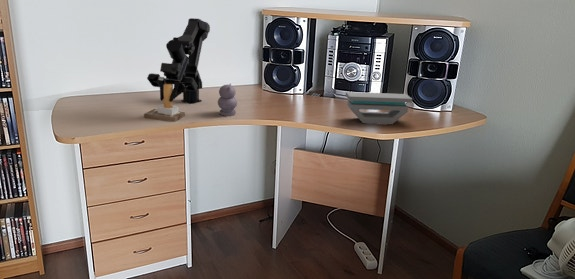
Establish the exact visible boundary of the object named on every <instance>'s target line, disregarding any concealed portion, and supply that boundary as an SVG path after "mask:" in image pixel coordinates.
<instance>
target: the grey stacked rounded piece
mask: <svg viewBox="0 0 575 279" xmlns="http://www.w3.org/2000/svg"><path fill="white" fill-rule="evenodd" d="M218 93H219V96H220V97H219V98H218V100H217V105H218V107H219V108H220V110H219V115H220V114H221V115H220V116H222V115H224V116H223V117H232V116H235V115H236V114H237V113H236V112H237V110H236V107H237V105H238V100H237V98H236V97H235V96H236V88H235V87H234V86H233V85H232V83H230V84H224V85H222V86H221V87H220V88H219V90H218Z"/></svg>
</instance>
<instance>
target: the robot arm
mask: <svg viewBox="0 0 575 279" xmlns="http://www.w3.org/2000/svg"><path fill="white" fill-rule="evenodd" d="M210 31H211V27H210V24H209V23H208V21H204V20H202V19H200V18H188V21H187V25H186V27H185V29H184V31H183V33H182V35H180V36H178V37H172V39H171V40H169V41H167V43H166V45H165V46H166V49H167V52H168V55H169V57H170V59H172V61H171V63H167V62H161V64H160V69H159V70H160V72H162V73H163V76H161V75H160V74H159V73H154V72H153V73H152V72H151V73H149V74H148V75H147V77H146V79H147V81H148V82H149V83H150V85H151V86H152V87H154V88H159V100H160V101H161V102H163V101H164V84H172V85H173V91H172V93H171V96H170V99H169V101H170V102H172V101H173V102H174V100H175V99H176V98H178V96H180V95H181V94H182V99H181V100H180V101H181V102H184V103H188V104H191V105H192V104H196V103H199V102H202V99H200V89H203V81H202V78H201V75H200V72H199V70H198V66H199V61H200V56H201V51H202V47H203V42H204V41H205V40H206V39H207V38H208V35H209V33H211V32H210Z"/></svg>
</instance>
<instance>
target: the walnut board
mask: <svg viewBox="0 0 575 279" xmlns="http://www.w3.org/2000/svg"><path fill="white" fill-rule="evenodd" d="M184 117H186V112H185V111H179V110H178V113H176V114H174V115H172V116H171V115H166V114H161V113H158V108H153V109H151V110H149V111H147V112H145V113H143V118H145V119H153V120H160V121H169V122H177V121H179V120H181V119H182V118H184Z"/></svg>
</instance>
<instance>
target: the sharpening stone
mask: <svg viewBox="0 0 575 279" xmlns="http://www.w3.org/2000/svg"><path fill="white" fill-rule="evenodd" d="M345 97H346V99H348V100H347V104H346V105H347V107H348V108H349V109H350V111H351V112H352V113H353V114H354V115H355V116H356V117H357V119H359V121H361V123H362V124H363V123H378V124H377V125H387V124H392V125H394V124H395V123H396V122H397V121H398V120H399V119H401V118H402V117H404V116H405V115H406V114H407V113H409V112H408V110H409V106H408V105H406V103H413V97H410V95H408V94H407V93H387V92H385V93H381V92H358V91H357V92H356V91H355V92H354V91H345ZM360 110H367V111H360ZM371 110H372V111H371ZM374 110H375V111H374ZM376 110H377V111H376ZM380 111H384V112H380ZM385 111H388V112H385ZM379 123H380V124H379Z"/></svg>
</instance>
